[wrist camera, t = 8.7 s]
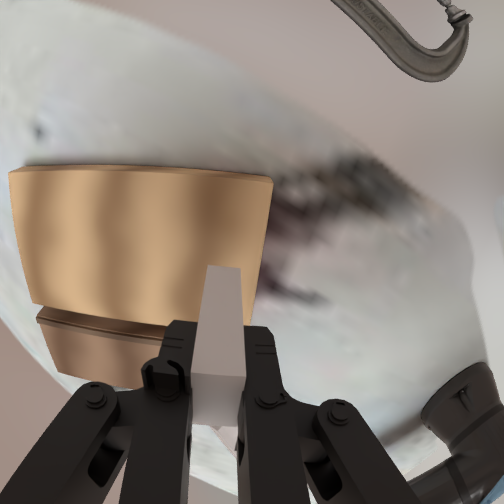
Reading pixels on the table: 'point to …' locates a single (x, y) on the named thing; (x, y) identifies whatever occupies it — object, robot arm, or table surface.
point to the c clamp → (411, 39)
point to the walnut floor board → (99, 346)
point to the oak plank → (136, 237)
